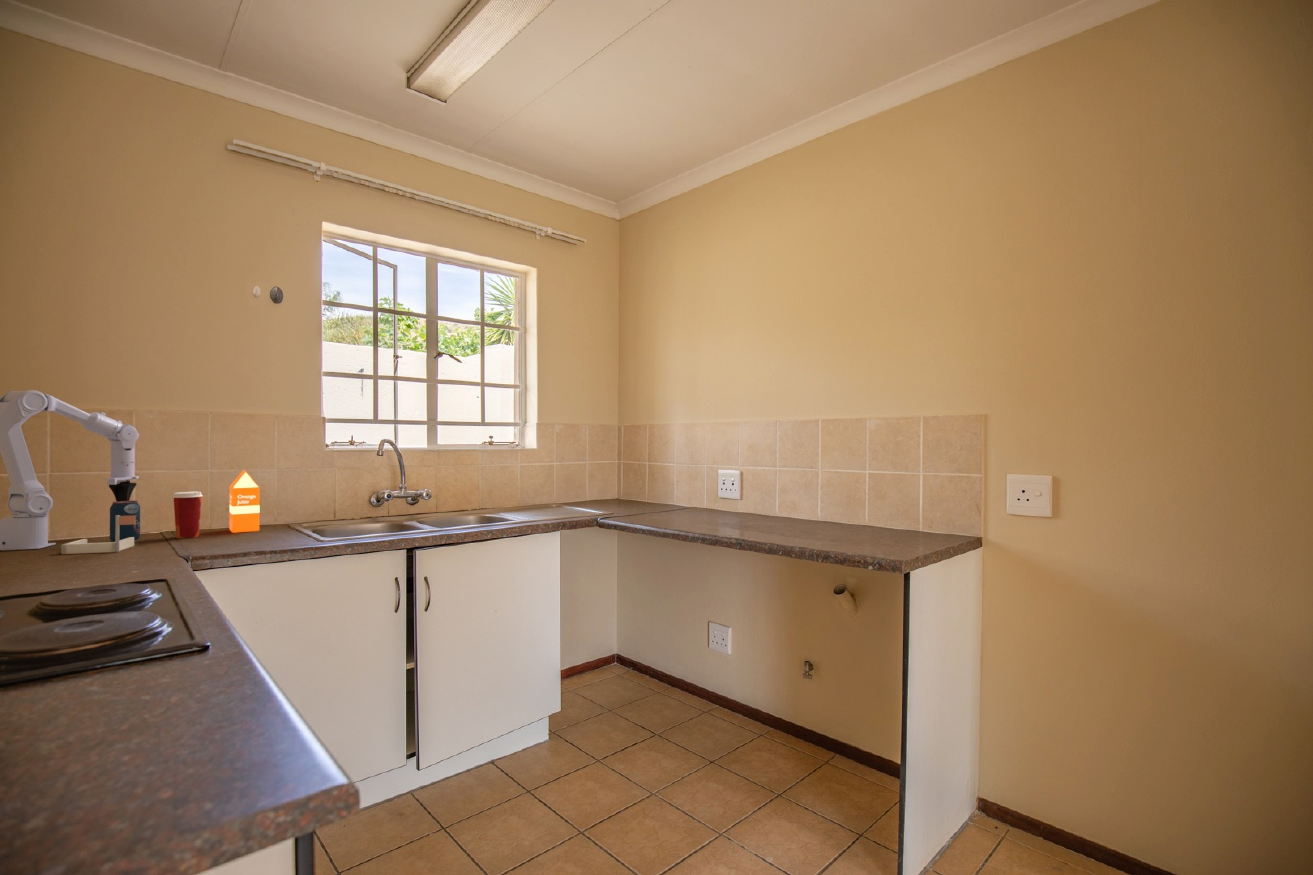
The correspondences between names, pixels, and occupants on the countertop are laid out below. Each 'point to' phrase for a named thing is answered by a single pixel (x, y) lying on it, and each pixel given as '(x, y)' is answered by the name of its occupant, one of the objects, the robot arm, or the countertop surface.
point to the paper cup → (187, 514)
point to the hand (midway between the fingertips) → (122, 506)
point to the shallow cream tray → (116, 546)
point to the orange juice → (244, 504)
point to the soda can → (125, 510)
